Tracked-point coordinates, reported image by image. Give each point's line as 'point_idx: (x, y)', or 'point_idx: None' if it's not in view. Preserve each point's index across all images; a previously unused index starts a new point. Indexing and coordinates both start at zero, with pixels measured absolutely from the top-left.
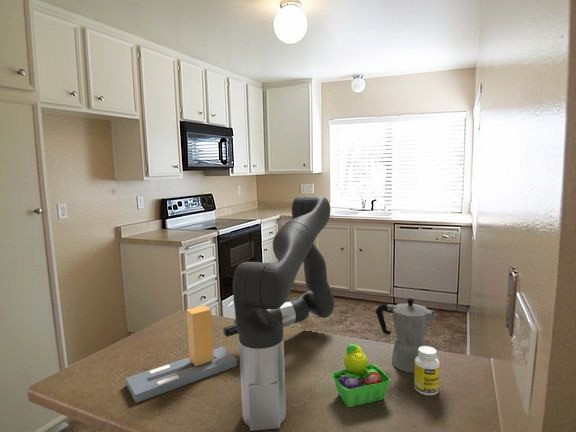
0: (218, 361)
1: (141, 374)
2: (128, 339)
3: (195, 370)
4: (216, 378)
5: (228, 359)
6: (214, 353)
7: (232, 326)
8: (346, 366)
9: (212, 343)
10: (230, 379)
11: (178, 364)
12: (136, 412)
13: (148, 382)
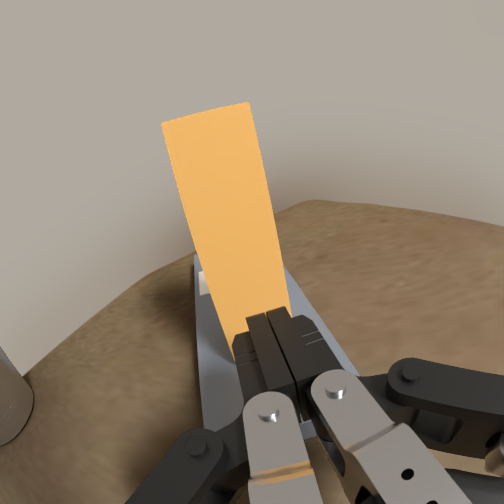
0: (229, 381)
1: None
2: (451, 217)
3: (212, 322)
4: (180, 385)
5: (222, 417)
6: None
7: (277, 351)
8: None
9: (214, 302)
10: (146, 417)
11: None
12: (173, 273)
13: None
